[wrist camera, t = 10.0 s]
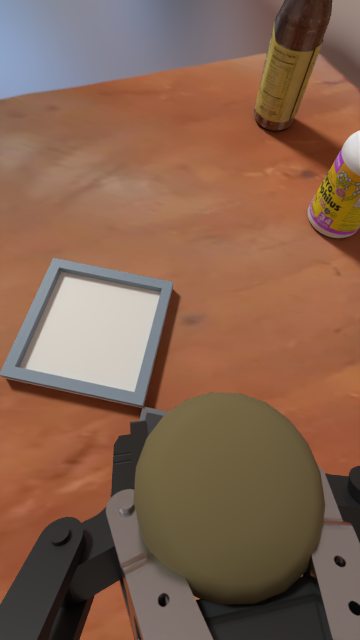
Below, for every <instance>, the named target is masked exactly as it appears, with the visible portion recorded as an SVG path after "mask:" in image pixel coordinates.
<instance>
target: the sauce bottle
mask: <svg viewBox="0 0 360 640" xmlns="http://www.w3.org/2000/svg"><path fill="white" fill-rule="evenodd" d="M331 9H332V0H285V1H284V3H283V5H282V7H281V9H280V11H279V13H278V14H277V16H276V19H275V23H274V27H273V31H272V36H271V40H270V44H269V48H268V52H267V56H266V61H265V65H264V70H263V74H262V78H261V82H260V86H259V90H258V95H257V99H256V103H255V111H254V113H255V114H254V115H255V119H256V121H257V123H258V124H259V125H260V126H262V127H264V128H266V129H268V130H271V131H277V130H284V129H287V128H288V127H290V125H291V124H292V122H293V120H294V117H295V115H296V114H297V112H298V109H299V106H300V103H301V101H302V98H303V95H304V92H305V90H306V87H307V84H308V81H309V78H310V76H311V73H312V70H313V67H314V64H315V62H316V59H317V56H318V53H319V51H320V48H321V45H322V42H323V37H324V34H325V31H326V28H327V26H328V23H329V20H330V16H331Z"/></svg>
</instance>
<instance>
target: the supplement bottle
mask: <svg viewBox="0 0 360 640" xmlns="http://www.w3.org/2000/svg"><path fill="white" fill-rule="evenodd" d="M308 218H309V221H310V223H311V224H312V226H313V227H314V228H315V229H316V230H317V231H319V232H320V233H322V234H324V235H326V236H329V237H332V238H345V237H348V236H351V235H353V234H354V233H356V232H357V231H358V229H359V228H360V131H357V132H356V133H354V134H353V135H351V136H350V137H349V138H348V139H347V141H346V142H345V144H344V145H343V147H342V149H341V151H340V152H339V154H338V156H337V158H336V160H335V161H334V163H333V165H332V167H331V168H330V170H329V172H328V174H327V175H326V177H325V179H324V181H323V182H322V184H321V186H320V187H319V189H318V191H317V193H316V194H315V196H314V198H313V200H312V202H311V203H310V205H309V208H308Z"/></svg>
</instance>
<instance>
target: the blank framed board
mask: <svg viewBox="0 0 360 640" xmlns="http://www.w3.org/2000/svg"><path fill="white" fill-rule="evenodd" d="M172 289H173V282H170V281H165V280H160V279H155V278H150V277H146V276H141V275H136V274H131V273H126V272H121V271H116V270H111V269H106V268H101V267H96V266H91V265H86V264H81V263H76V262H71V261H66V260H61V259H56V258H53V260H52V262H51V264H50V266H49V268H48V271H47V273H46V275H45V277H44V279H43V281H42V284H41V286H40V288H39V290H38V292H37V294H36V297H35V299H34V301H33V303H32V305H31V307H30V309H29V312H28V314H27V316H26V318H25V320H24V322H23V325H22V327H21V329H20V331H19V333H18V335H17V338H16V340H15V342H14V344H13V346H12V348H11V351H10V353H9V355H8V357H7V359H6V361H5V364H4V366H3V368H2V370H1V372H0V376H2V377H4V378H5V379H9V380H14V381H19V382H23V383H28V384H33V385H37V386H42V387H47V388H51V389H56V390H60V391H65V392H70V393H74V394H79V395H84V396H88V397H93V398H98V399H102V400H107V401H111V402H116V403H121V404H125V405H130V406H135V407H139V408H143V406H144V404H145V400H146V395H147V391H148V387H149V383H150V379H151V375H152V371H153V367H154V363H155V359H156V355H157V351H158V347H159V342H160V338H161V334H162V330H163V326H164V322H165V318H166V314H167V310H168V306H169V302H170V298H171V294H172Z"/></svg>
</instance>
